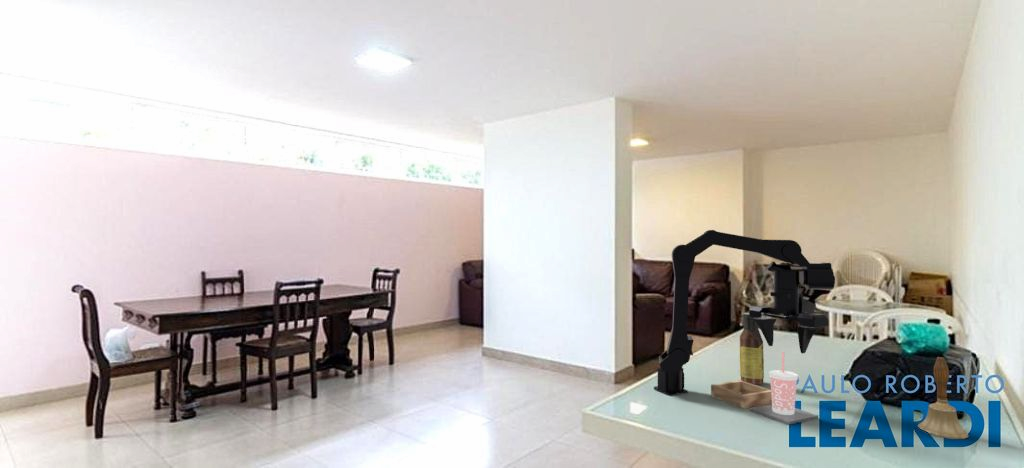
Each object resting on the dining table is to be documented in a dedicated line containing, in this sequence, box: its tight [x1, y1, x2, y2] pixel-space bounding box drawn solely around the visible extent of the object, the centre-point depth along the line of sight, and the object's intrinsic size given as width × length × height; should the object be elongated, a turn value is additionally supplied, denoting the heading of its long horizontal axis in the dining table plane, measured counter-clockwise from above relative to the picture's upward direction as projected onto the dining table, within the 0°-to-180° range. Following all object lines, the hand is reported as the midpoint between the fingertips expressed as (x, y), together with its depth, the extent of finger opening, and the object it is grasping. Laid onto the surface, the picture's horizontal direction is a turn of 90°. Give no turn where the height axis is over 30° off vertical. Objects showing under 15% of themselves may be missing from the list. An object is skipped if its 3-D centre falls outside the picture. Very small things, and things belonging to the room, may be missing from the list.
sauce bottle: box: [738, 312, 765, 386], centre depth 145 cm, size 7×6×20 cm
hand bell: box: [917, 356, 969, 440], centre depth 109 cm, size 8×8×16 cm
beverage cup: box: [768, 351, 799, 415], centre depth 119 cm, size 6×6×14 cm
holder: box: [710, 379, 772, 409], centre depth 130 cm, size 10×10×3 cm
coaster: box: [750, 403, 819, 425], centre depth 119 cm, size 10×10×1 cm
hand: (786, 349), depth 129 cm, fingers open, 9 cm apart
